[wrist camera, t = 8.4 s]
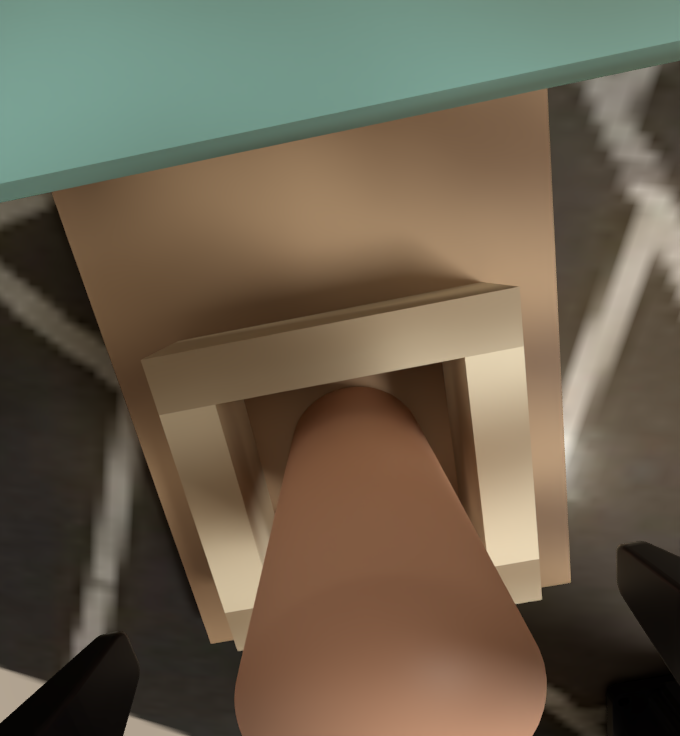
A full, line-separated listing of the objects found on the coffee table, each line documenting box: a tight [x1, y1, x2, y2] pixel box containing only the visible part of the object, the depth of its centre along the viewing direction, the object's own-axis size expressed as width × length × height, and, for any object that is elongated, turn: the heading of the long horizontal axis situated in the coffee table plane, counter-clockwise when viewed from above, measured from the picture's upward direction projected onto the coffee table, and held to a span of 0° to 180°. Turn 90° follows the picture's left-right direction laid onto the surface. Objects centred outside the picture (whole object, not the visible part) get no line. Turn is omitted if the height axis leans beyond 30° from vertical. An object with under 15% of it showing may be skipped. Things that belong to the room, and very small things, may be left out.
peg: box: [234, 387, 547, 736], centre depth 9 cm, size 4×4×8 cm
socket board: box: [0, 0, 680, 651], centre depth 10 cm, size 20×14×7 cm
